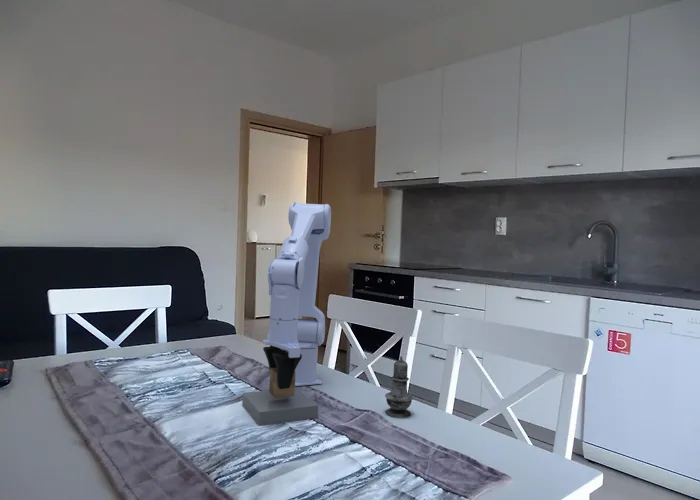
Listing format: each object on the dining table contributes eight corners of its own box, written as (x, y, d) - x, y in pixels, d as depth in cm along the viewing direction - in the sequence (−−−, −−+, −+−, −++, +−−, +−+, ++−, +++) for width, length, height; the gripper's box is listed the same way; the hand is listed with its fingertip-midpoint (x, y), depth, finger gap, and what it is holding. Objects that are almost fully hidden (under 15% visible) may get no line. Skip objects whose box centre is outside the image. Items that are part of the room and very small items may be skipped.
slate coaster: (242, 404, 101) (242, 392, 101) (296, 398, 107) (296, 387, 107) (258, 425, 91) (259, 412, 91) (317, 417, 96) (318, 405, 96)
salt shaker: (411, 420, 98) (414, 360, 98) (382, 416, 99) (385, 358, 99) (413, 410, 104) (416, 354, 103) (385, 407, 105) (389, 351, 105)
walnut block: (269, 392, 100) (270, 368, 100) (287, 390, 102) (288, 366, 101) (275, 398, 96) (276, 373, 96) (294, 396, 98) (295, 371, 98)
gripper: (254, 313, 103) (251, 376, 103) (276, 325, 90) (272, 397, 90) (285, 312, 106) (282, 373, 107) (311, 324, 93) (307, 394, 94)
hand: (280, 384), depth 99 cm, fingers closed on walnut block, 4 cm apart
